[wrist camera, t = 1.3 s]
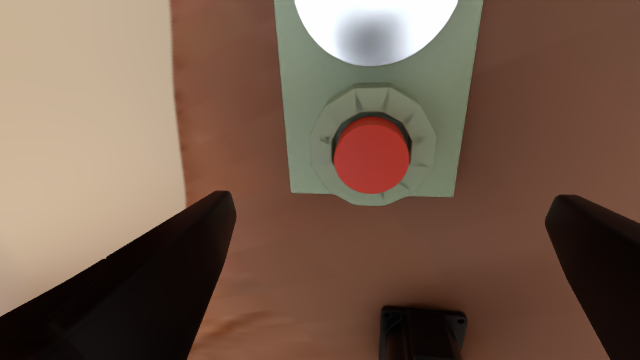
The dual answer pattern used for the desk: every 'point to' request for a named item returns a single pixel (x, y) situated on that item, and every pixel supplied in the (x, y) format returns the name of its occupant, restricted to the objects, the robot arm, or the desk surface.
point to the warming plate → (374, 27)
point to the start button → (371, 155)
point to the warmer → (377, 105)
